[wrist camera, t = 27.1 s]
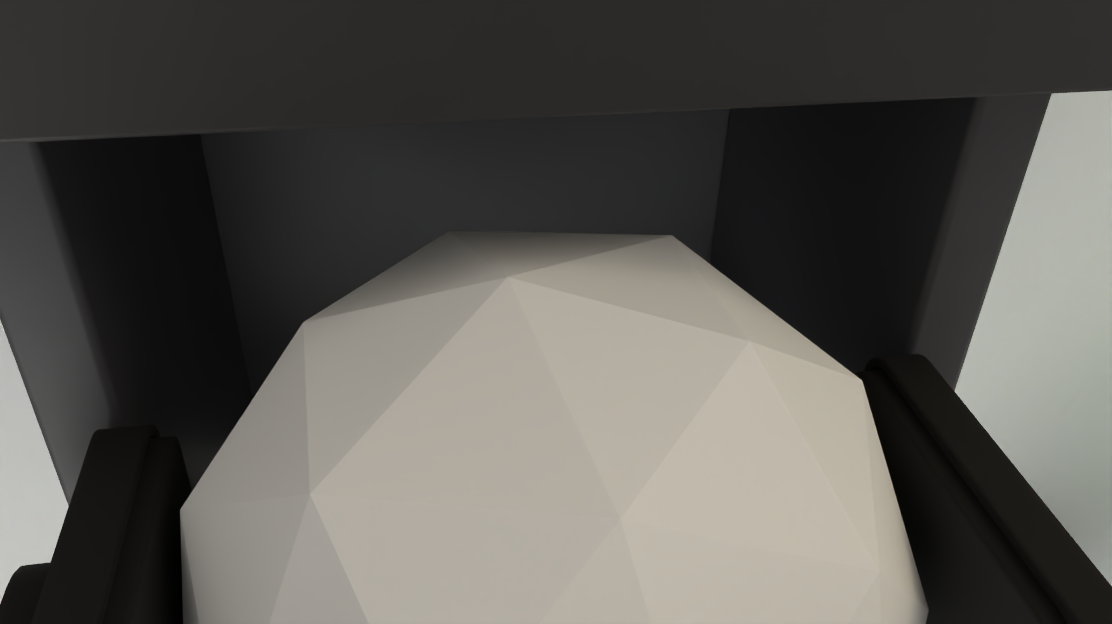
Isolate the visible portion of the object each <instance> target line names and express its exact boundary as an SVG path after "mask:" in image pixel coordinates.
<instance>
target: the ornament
mask: <svg viewBox="0 0 1112 624" xmlns="http://www.w3.org/2000/svg"><path fill="white" fill-rule="evenodd" d="M180 530H181V566H182V603H183V624H926V620H927V616H928V612H929V608H928V605H927V601H926V598H925V595H924V591H923V588H922V584H921V581H920V577H919V574H918V571H917V567H916V564H915V560H914V557H913V553H912V550H911V547H910V543H909V540H908V536H907V533H906V529H905V526H904V522H903V519H902V516H901V512H900V509H899V505H898V502H897V498H896V495H895V492H894V488H893V485H892V481H891V478H890V474H889V471H888V467H887V464H886V461H885V457H884V454H883V450H882V447H881V443H880V440H879V437H878V433H877V430H876V426H875V423H874V419H873V416H872V412H871V409H870V406H869V402H868V399H867V395H866V392H865V388H864V385H863V382H862V380H861V379H860V378H858V377H857V376H856V375H854V374H853V373H852V372H850V371H849V370H848V369H846V368H845V367H844V366H843V365H841V364H840V363H839V362H837V361H836V360H835V359H833V358H832V357H831V356H829V355H828V354H827V353H826V352H824V351H823V350H822V349H820V348H819V347H818V346H816V345H815V344H814V343H812V342H811V341H810V340H809V339H807V338H806V337H805V336H803V335H802V334H801V333H799V332H798V331H797V330H795V329H794V328H793V327H791V326H790V325H789V324H788V323H786V322H785V321H784V320H782V319H781V318H780V317H778V316H777V315H776V314H774V313H773V312H772V311H771V310H769V309H768V308H767V307H765V306H764V305H763V304H761V303H760V302H759V301H757V300H756V299H755V298H754V297H752V296H751V295H750V294H748V293H747V292H746V291H744V290H743V289H742V288H740V287H739V286H738V285H737V284H735V283H734V282H733V281H731V280H730V279H729V278H727V277H726V276H725V275H723V274H722V273H721V272H720V271H718V270H717V269H716V268H714V267H713V266H712V265H710V264H709V263H708V262H706V261H705V260H704V259H702V258H701V257H700V256H699V255H697V254H696V253H695V252H693V251H692V250H691V249H689V248H688V247H687V246H685V245H684V244H683V243H682V242H680V241H679V240H678V239H676V238H675V237H674V236H672V235H640V234H591V233H542V232H493V231H448V232H446V233H445V234H443V235H442V236H440V237H438V238H437V239H435V240H434V241H432V242H430V243H429V244H427V245H426V246H424V247H423V248H421V249H419V250H418V251H416V252H415V253H413V254H411V255H410V256H408V257H407V258H405V259H403V260H402V261H400V262H399V263H397V264H395V265H394V266H392V267H391V268H389V269H387V270H386V271H384V272H383V273H381V274H379V275H378V276H376V277H375V278H373V279H371V280H370V281H368V282H367V283H365V284H363V285H362V286H360V287H359V288H357V289H355V290H354V291H352V292H351V293H349V294H347V295H346V296H344V297H343V298H341V299H339V300H338V301H336V302H335V303H333V304H332V305H330V306H328V307H327V308H325V309H324V310H322V311H320V312H319V313H317V314H316V315H314V316H312V317H311V318H309V319H308V320H306V321H304V322H303V323H302V325H301V326H300V328H299V329H298V331H297V332H296V334H295V336H294V337H293V339H292V340H291V342H290V343H289V345H288V346H287V348H286V349H285V351H284V352H283V354H282V355H281V357H280V358H279V360H278V361H277V363H276V364H275V366H274V367H273V369H272V371H271V372H270V374H269V375H268V377H267V378H266V380H265V381H264V383H263V384H262V386H261V387H260V389H259V390H258V392H257V393H256V395H255V396H254V398H253V399H252V401H251V403H250V404H249V406H248V407H247V409H246V410H245V412H244V413H243V415H242V416H241V418H240V419H239V421H238V422H237V424H236V425H235V427H234V428H233V430H232V431H231V433H230V435H229V436H228V438H227V439H226V441H225V442H224V444H223V445H222V447H221V448H220V450H219V451H218V453H217V454H216V456H215V457H214V459H213V460H212V462H211V463H210V465H209V467H208V468H207V470H206V471H205V473H204V474H203V476H202V477H201V479H200V480H199V482H198V483H197V485H196V486H195V488H194V489H193V491H192V492H191V494H190V495H189V497H188V499H187V500H186V502H185V503H184V505H183V506H182V508H181V509H180Z"/></svg>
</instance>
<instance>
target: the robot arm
mask: <svg viewBox="0 0 1112 624" xmlns="http://www.w3.org/2000/svg"><path fill="white" fill-rule="evenodd" d="M855 375H856V376H857V377H858V378H860V379H861V380H862V382H863V385H864V388H865V392H866V395H867V399H868V402H869V406H870V409H871V412H872V416H873V419H874V423H875V426H876V430H877V433H878V437H879V440H880V443H881V447H882V450H883V454H884V457H885V461H886V464H887V467H888V471H889V474H890V478H891V481H892V485H893V488H894V492H895V495H896V498H897V502H898V505H899V509H900V512H901V516H902V519H903V522H904V526H905V529H906V533H907V536H908V540H909V543H910V547H911V550H912V553H913V557H914V560H915V564H916V567H917V571H918V574H919V577H920V581H921V584H922V588H923V591H924V595H925V598H926V601H927V605H928V608H929V612H928V616H927V620H926V624H1112V586H1111V585H1110V584H1109V583H1108V581H1107V580H1106V579H1105V578H1104V577H1103V575H1102V574H1101V573H1100V572H1099V570H1098V569H1097V568H1096V567H1095V565H1094V564H1093V563H1092V562H1091V560H1090V559H1089V558H1088V557H1087V555H1086V554H1085V553H1084V552H1083V550H1082V549H1081V548H1080V547H1079V546H1078V544H1077V543H1076V542H1075V541H1074V539H1073V538H1072V537H1071V536H1070V534H1069V533H1068V532H1067V531H1066V529H1065V528H1064V527H1063V526H1062V524H1061V523H1060V522H1059V521H1058V519H1057V518H1056V517H1055V516H1054V515H1053V513H1052V512H1051V511H1050V510H1049V508H1048V507H1047V506H1046V505H1045V503H1044V502H1043V501H1042V500H1041V498H1040V497H1039V496H1038V495H1037V493H1036V492H1035V491H1034V490H1033V488H1032V487H1031V486H1030V485H1029V484H1028V482H1027V481H1026V480H1025V479H1024V477H1023V476H1022V475H1021V474H1020V472H1019V471H1018V470H1017V469H1016V467H1015V466H1014V465H1013V464H1012V462H1011V461H1010V460H1009V459H1008V457H1007V456H1006V455H1005V454H1004V453H1003V451H1002V450H1001V449H1000V448H999V446H998V445H997V444H996V443H995V441H994V440H993V439H992V438H991V436H990V435H989V434H988V433H987V431H986V430H985V429H984V428H983V426H982V425H981V424H980V423H979V421H978V420H977V419H976V418H975V417H974V415H973V414H972V413H971V412H970V410H969V409H968V408H967V407H966V405H965V404H964V403H963V402H962V400H961V399H960V398H959V397H958V395H957V394H956V393H955V392H954V390H953V389H952V388H951V387H950V386H949V384H948V383H947V382H946V381H945V379H944V378H943V377H942V376H941V374H940V373H939V372H938V371H937V369H936V368H935V367H934V366H933V364H932V363H931V362H930V361H929V360H928V359H927V358H926V357H925V356H923V355H920V354H911V355H900V356H889V357H878V358H873V359H871V360H870V361H869V362H868V363H867V364H866V367H865V369H864V371H861V372H857V373H856V374H855ZM191 492H192V488H191V485H190V481H189V477H188V473H187V469H186V466H185V462H184V458H183V454H182V450H181V446H180V443H179V440H178V439H177V437H175V436H171V437H161V436H160V434H159V431H158V429H157V428H156V426H155V425H152V424H151V425H140V426H129V427H118V428H108V429H98V430H96V431H95V432H94V433H93V435H92V438H91V440H90V443H89V446H88V449H87V452H86V455H85V458H84V461H83V465H82V468H81V471H80V474H79V477H78V480H77V483H76V486H75V489H74V492H73V495H72V498H71V502H70V505H69V508H68V511H67V514H66V517H65V520H64V523H63V526H62V529H61V532H60V536H59V539H58V542H57V545H56V548H55V551H54V554H53V557H52V560H51V563H42V564H33V565H26V566H21V567H20V568H19V569H18V570H17V571H16V572H15V573H14V574H13V575H12V577H11V579H10V581H9V583H8V586H7V588H6V590H5V593H4V596H3V599H2V601H1V604H0V624H183V603H182V566H181V530H180V509H181V508H182V506H183V505H184V503H185V502H186V500H187V499H188V497H189V495H190V494H191Z"/></svg>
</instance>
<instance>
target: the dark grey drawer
mask: <svg viewBox="0 0 1112 624" xmlns="http://www.w3.org/2000/svg"><path fill="white" fill-rule="evenodd" d="M1051 94H1052V93H1047V94H1026V95H1005V96H984V97H963V98H942V99H921V100H901V101H880V102H859V103H838V104H817V105H796V106H775V107H754V108H733V109H713V110H692V111H671V112H650V113H629V114H608V115H587V116H566V117H545V118H525V119H504V120H483V121H462V122H441V123H420V124H399V125H378V126H357V127H337V128H316V129H295V130H274V131H253V132H232V133H211V134H190V135H169V136H149V137H128V138H107V139H86V140H65V141H44V142H23V143H2V144H0V319H1V322H2V325H3V327H4V330H5V333H6V336H7V338H8V341H9V344H10V346H11V349H12V352H13V355H14V357H15V360H16V363H17V366H18V368H19V371H20V374H21V377H22V379H23V382H24V385H25V387H26V390H27V393H28V396H29V398H30V401H31V404H32V407H33V409H34V412H35V415H36V418H37V420H38V423H39V426H40V428H41V431H42V434H43V437H44V439H45V442H46V445H47V448H48V450H49V453H50V456H51V459H52V461H53V464H54V467H55V470H56V472H57V475H58V478H59V480H60V483H61V486H62V489H63V491H64V494H65V497H66V500H67V502H68V505H70V502H71V498H72V495H73V492H74V489H75V486H76V483H77V480H78V477H79V474H80V471H81V468H82V465H83V461H84V458H85V455H86V452H87V449H88V446H89V443H90V440H91V438H92V435H93V433H94V432H95V431H96V430H98V429H108V428H118V427H129V426H140V425H151V424H152V425H155V426H156V428H157V429H158V431H159V434H160V436H161V437H171V436H175V437H177V439H178V440H179V443H180V446H181V450H182V454H183V458H184V462H185V466H186V469H187V473H188V477H189V481H190V485H191V488H192V491H193V489H194V488H195V486H196V485H197V483H198V482H199V480H200V479H201V477H202V476H203V474H204V473H205V471H206V470H207V468H208V467H209V465H210V463H211V462H212V460H213V459H214V457H215V456H216V454H217V453H218V451H219V450H220V448H221V447H222V445H223V444H224V442H225V441H226V439H227V438H228V436H229V435H230V433H231V431H232V430H233V428H234V427H235V425H236V424H237V422H238V421H239V419H240V418H241V416H242V415H243V413H244V412H245V410H246V409H247V407H248V406H249V404H250V403H251V401H252V399H253V398H254V396H255V395H256V393H257V392H258V390H259V389H260V387H261V386H262V384H263V383H264V381H265V380H266V378H267V377H268V375H269V374H270V372H271V371H272V369H273V367H274V366H275V364H276V363H277V361H278V360H279V358H280V357H281V355H282V354H283V352H284V351H285V349H286V348H287V346H288V345H289V343H290V342H291V340H292V339H293V337H294V336H295V334H296V332H297V331H298V329H299V328H300V326H301V325H302V323H303V322H304V321H306V320H308V319H309V318H311V317H312V316H314V315H316V314H317V313H319V312H320V311H322V310H324V309H325V308H327V307H328V306H330V305H332V304H333V303H335V302H336V301H338V300H339V299H341V298H343V297H344V296H346V295H347V294H349V293H351V292H352V291H354V290H355V289H357V288H359V287H360V286H362V285H363V284H365V283H367V282H368V281H370V280H371V279H373V278H375V277H376V276H378V275H379V274H381V273H383V272H384V271H386V270H387V269H389V268H391V267H392V266H394V265H395V264H397V263H399V262H400V261H402V260H403V259H405V258H407V257H408V256H410V255H411V254H413V253H415V252H416V251H418V250H419V249H421V248H423V247H424V246H426V245H427V244H429V243H430V242H432V241H434V240H435V239H437V238H438V237H440V236H442V235H443V234H445V233H446V232H448V231H493V232H542V233H591V234H640V235H672V236H674V237H675V238H676V239H678V240H679V241H680V242H682V243H683V244H684V245H685V246H687V247H688V248H689V249H691V250H692V251H693V252H695V253H696V254H697V255H699V256H700V257H701V258H702V259H704V260H705V261H706V262H708V263H709V264H710V265H712V266H713V267H714V268H716V269H717V270H718V271H720V272H721V273H722V274H723V275H725V276H726V277H727V278H729V279H730V280H731V281H733V282H734V283H735V284H737V285H738V286H739V287H740V288H742V289H743V290H744V291H746V292H747V293H748V294H750V295H751V296H752V297H754V298H755V299H756V300H757V301H759V302H760V303H761V304H763V305H764V306H765V307H767V308H768V309H769V310H771V311H772V312H773V313H774V314H776V315H777V316H778V317H780V318H781V319H782V320H784V321H785V322H786V323H788V324H789V325H790V326H791V327H793V328H794V329H795V330H797V331H798V332H799V333H801V334H802V335H803V336H805V337H806V338H807V339H809V340H810V341H811V342H812V343H814V344H815V345H816V346H818V347H819V348H820V349H822V350H823V351H824V352H826V353H827V354H828V355H829V356H831V357H832V358H833V359H835V360H836V361H837V362H839V363H840V364H841V365H843V366H844V367H845V368H846V369H848V370H849V371H850V372H852V373H853V374H854V375H855V374H856V373H857V372H861V371H864V369H865V367H866V364H867V363H868V362H869V361H870V360H871V359H873V358H878V357H889V356H900V355H911V354H920V355H923V356H925V357H926V358H927V359H928V360H929V361H930V362H931V363H932V364H933V366H934V367H935V368H936V369H937V371H938V372H939V373H940V374H941V376H942V377H943V378H944V379H945V381H946V382H947V383H948V384H949V386H950V387H951V388H952V389H953V390H955V387H956V384H957V381H958V378H959V375H960V372H961V369H962V366H963V363H964V360H965V357H966V354H967V350H968V347H969V344H970V341H971V338H972V335H973V332H974V329H975V326H976V323H977V320H978V317H979V314H980V311H981V308H982V305H983V302H984V298H985V295H986V292H987V289H988V286H989V283H990V280H991V277H992V274H993V271H994V268H995V265H996V262H997V259H998V256H999V253H1000V250H1001V246H1002V243H1003V240H1004V237H1005V234H1006V231H1007V228H1008V225H1009V222H1010V219H1011V216H1012V213H1013V210H1014V207H1015V204H1016V201H1017V198H1018V194H1019V191H1020V188H1021V185H1022V182H1023V179H1024V176H1025V173H1026V170H1027V167H1028V164H1029V161H1030V158H1031V155H1032V152H1033V149H1034V146H1035V142H1036V139H1037V136H1038V133H1039V130H1040V127H1041V124H1042V121H1043V118H1044V115H1045V112H1046V109H1047V106H1048V103H1049V100H1050V97H1051Z"/></svg>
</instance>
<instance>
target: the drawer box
mask: <svg viewBox="0 0 1112 624" xmlns="http://www.w3.org/2000/svg"><path fill="white" fill-rule="evenodd" d="M1109 90H1112V0H0V144H2V143H23V142H44V141H65V140H86V139H107V138H128V137H149V136H169V135H190V134H211V133H232V132H253V131H274V130H295V129H316V128H337V127H357V126H378V125H399V124H420V123H441V122H462V121H483V120H504V119H525V118H545V117H566V116H587V115H608V114H629V113H650V112H671V111H692V110H713V109H733V108H754V107H775V106H796V105H817V104H838V103H859V102H880V101H901V100H921V99H942V98H963V97H984V96H1005V95H1026V94H1047V93H1068V92H1089V91H1109Z"/></svg>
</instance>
